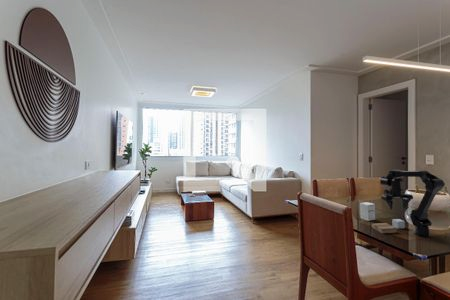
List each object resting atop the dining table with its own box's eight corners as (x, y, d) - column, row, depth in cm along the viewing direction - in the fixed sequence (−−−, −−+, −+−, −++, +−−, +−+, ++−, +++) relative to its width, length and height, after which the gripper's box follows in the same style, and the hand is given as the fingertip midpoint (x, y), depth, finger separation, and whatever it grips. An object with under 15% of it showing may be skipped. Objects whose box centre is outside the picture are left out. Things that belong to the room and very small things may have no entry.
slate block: (404, 228, 157) (404, 221, 157) (397, 228, 157) (397, 221, 157) (399, 225, 162) (399, 218, 162) (392, 226, 162) (392, 219, 162)
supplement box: (368, 221, 174) (367, 205, 174) (360, 218, 181) (359, 202, 181) (375, 219, 176) (375, 203, 176) (367, 217, 183) (366, 201, 183)
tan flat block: (396, 232, 151) (396, 228, 151) (381, 233, 151) (381, 228, 151) (386, 227, 161) (386, 222, 161) (372, 227, 161) (372, 223, 161)
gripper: (401, 184, 168) (402, 205, 168) (375, 186, 168) (377, 206, 168) (413, 187, 157) (414, 209, 157) (385, 188, 157) (387, 210, 157)
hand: (397, 209), depth 160 cm, fingers open, 9 cm apart
